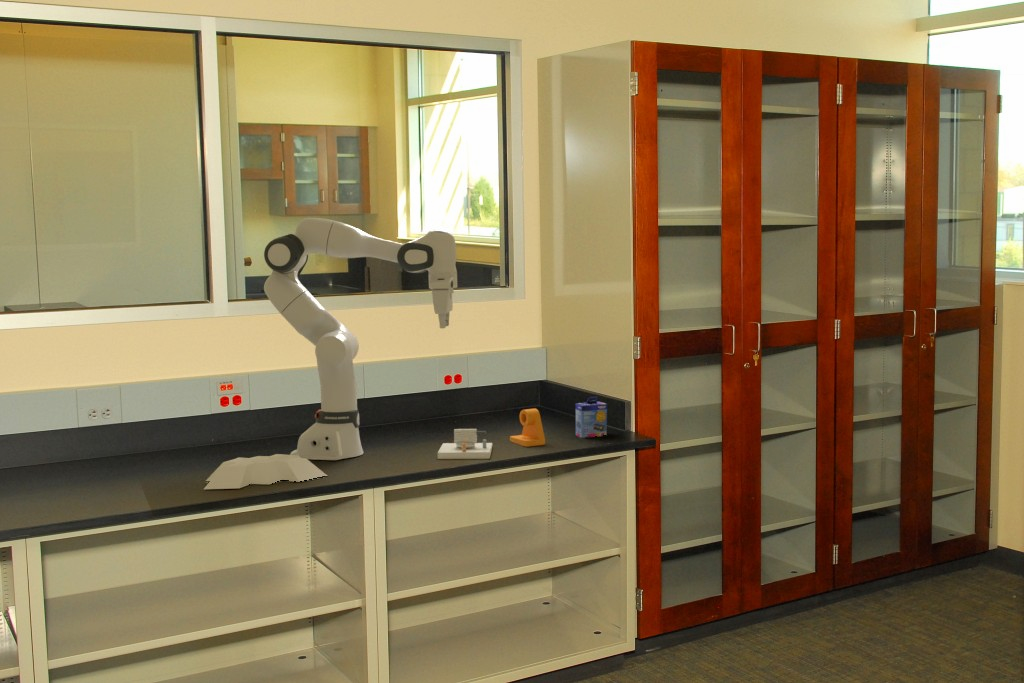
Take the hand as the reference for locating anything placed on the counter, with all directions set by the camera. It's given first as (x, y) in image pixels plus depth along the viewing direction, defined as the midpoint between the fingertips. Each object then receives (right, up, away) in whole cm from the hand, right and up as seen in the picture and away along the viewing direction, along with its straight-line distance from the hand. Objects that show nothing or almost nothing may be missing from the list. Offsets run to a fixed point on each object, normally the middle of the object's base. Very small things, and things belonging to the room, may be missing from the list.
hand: (444, 327), depth 318 cm
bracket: (+26, -39, +19) cm, 51 cm away
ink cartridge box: (+48, -38, +30) cm, 68 cm away
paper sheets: (-51, -44, -23) cm, 71 cm away
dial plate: (+6, -40, +6) cm, 41 cm away
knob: (+8, -38, +6) cm, 39 cm away
